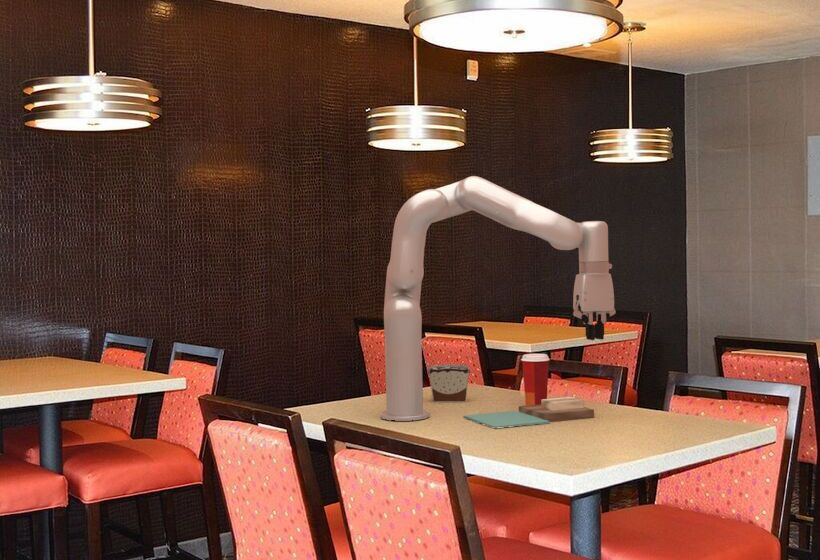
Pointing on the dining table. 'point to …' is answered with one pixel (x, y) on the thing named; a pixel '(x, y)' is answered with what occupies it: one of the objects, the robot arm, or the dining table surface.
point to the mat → (506, 419)
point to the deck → (557, 413)
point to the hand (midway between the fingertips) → (595, 338)
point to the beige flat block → (562, 403)
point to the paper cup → (535, 377)
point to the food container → (449, 382)
